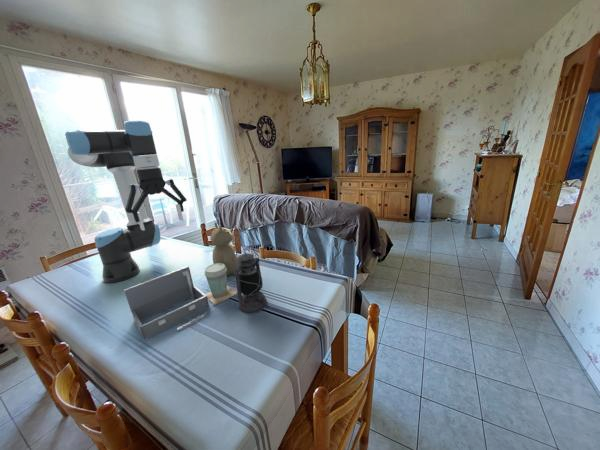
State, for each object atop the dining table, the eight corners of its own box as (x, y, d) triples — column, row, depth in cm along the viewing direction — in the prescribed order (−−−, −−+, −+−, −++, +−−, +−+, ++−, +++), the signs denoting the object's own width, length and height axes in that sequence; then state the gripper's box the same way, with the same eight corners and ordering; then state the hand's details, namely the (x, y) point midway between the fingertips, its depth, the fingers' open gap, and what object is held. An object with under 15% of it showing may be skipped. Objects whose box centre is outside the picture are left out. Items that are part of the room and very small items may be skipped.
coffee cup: (224, 300, 96) (219, 273, 92) (204, 299, 98) (199, 272, 94) (234, 288, 104) (229, 262, 100) (215, 287, 106) (210, 262, 102)
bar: (178, 332, 82) (177, 329, 82) (177, 330, 83) (176, 327, 82) (206, 316, 89) (205, 313, 88) (204, 315, 90) (204, 312, 89)
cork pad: (203, 295, 101) (203, 294, 101) (225, 285, 108) (225, 284, 108) (214, 305, 94) (214, 304, 94) (237, 293, 101) (237, 292, 101)
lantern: (252, 318, 85) (239, 238, 76) (230, 309, 91) (216, 233, 82) (274, 299, 95) (265, 226, 86) (253, 292, 101) (243, 222, 91)
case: (134, 320, 89) (123, 289, 85) (194, 293, 103) (188, 265, 99) (144, 341, 79) (133, 307, 75) (210, 307, 93) (203, 277, 89)
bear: (258, 273, 116) (251, 223, 108) (224, 285, 107) (214, 231, 100) (241, 258, 132) (235, 214, 125) (210, 268, 124) (201, 220, 116)
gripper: (106, 172, 77) (126, 236, 83) (187, 164, 93) (199, 218, 99) (103, 172, 82) (122, 232, 89) (180, 164, 98) (191, 215, 105)
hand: (163, 224), depth 94 cm, fingers open, 13 cm apart
